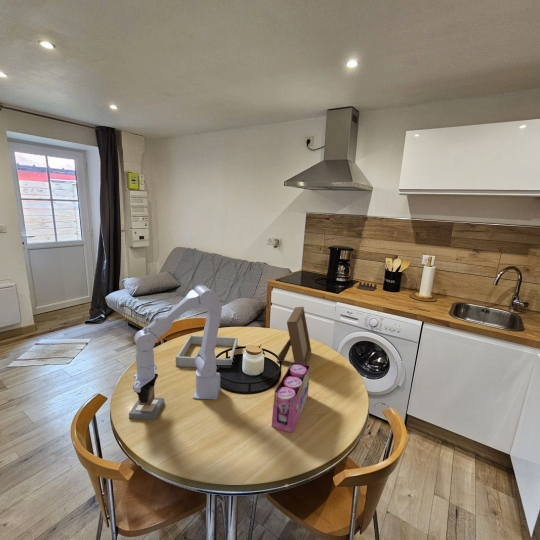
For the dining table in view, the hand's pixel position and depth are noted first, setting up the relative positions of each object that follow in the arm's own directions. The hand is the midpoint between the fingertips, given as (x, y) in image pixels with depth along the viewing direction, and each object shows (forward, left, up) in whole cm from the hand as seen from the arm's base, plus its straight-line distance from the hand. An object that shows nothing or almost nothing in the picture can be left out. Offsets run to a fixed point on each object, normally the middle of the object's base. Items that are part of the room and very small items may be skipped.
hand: (146, 398), depth 105 cm
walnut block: (0, 0, -1) cm, 1 cm away
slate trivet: (0, 0, -5) cm, 5 cm away
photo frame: (-57, -42, -5) cm, 70 cm away
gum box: (-53, -4, -5) cm, 53 cm away
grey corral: (-14, -43, -5) cm, 45 cm away
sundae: (-39, -28, -5) cm, 48 cm away
